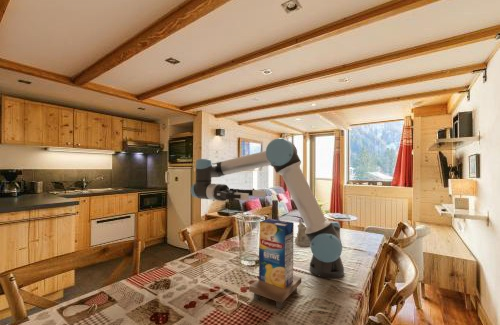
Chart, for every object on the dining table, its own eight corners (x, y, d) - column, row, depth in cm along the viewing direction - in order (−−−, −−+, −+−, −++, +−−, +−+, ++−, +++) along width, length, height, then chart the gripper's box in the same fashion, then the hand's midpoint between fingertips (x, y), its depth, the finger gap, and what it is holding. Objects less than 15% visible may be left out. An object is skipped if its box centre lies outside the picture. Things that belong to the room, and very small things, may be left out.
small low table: (271, 281, 101) (271, 269, 101) (301, 290, 94) (301, 277, 94) (249, 299, 87) (249, 285, 87) (281, 312, 79) (282, 296, 79)
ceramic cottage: (294, 245, 147) (296, 220, 148) (295, 238, 163) (296, 216, 164) (320, 249, 144) (322, 223, 144) (319, 242, 160) (320, 219, 160)
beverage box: (284, 288, 85) (285, 226, 85) (258, 279, 91) (259, 221, 92) (293, 281, 90) (293, 222, 91) (268, 273, 97) (268, 218, 97)
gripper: (234, 197, 122) (271, 201, 111) (198, 203, 102) (239, 208, 90) (234, 182, 122) (271, 184, 111) (199, 185, 102) (239, 188, 90)
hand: (257, 195), depth 100 cm, fingers open, 13 cm apart
